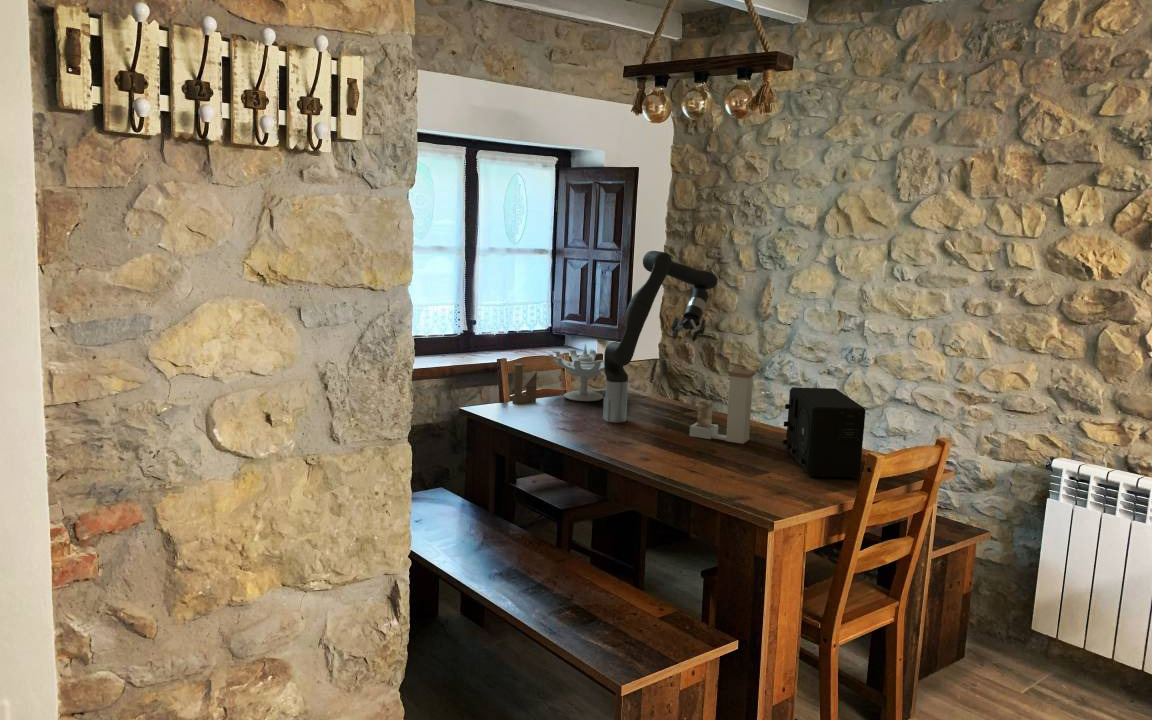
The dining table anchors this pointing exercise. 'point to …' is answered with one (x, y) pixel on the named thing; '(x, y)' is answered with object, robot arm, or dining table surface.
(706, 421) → the block
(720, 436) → the post
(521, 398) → the wooden block
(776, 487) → the dining table surface
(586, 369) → the candelabra
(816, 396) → the vintage radio
